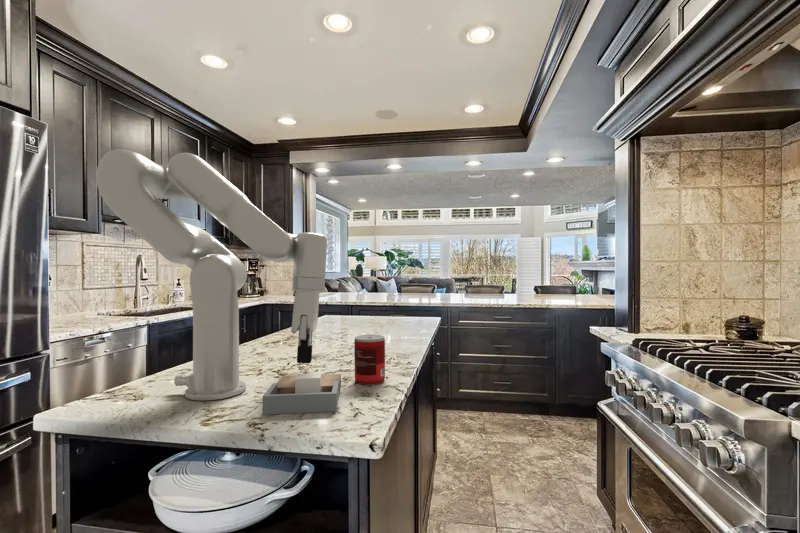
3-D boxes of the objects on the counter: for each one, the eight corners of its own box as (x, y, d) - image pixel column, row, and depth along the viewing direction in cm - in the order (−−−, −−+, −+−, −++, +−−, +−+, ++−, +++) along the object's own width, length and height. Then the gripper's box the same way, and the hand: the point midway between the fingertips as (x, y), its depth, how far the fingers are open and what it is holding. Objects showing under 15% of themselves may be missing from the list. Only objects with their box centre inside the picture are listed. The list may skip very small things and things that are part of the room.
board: (272, 399, 83) (272, 388, 83) (281, 386, 93) (281, 376, 93) (338, 397, 84) (338, 385, 85) (340, 384, 94) (340, 373, 94)
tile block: (298, 397, 83) (295, 403, 79) (298, 373, 83) (295, 378, 79) (321, 396, 83) (320, 402, 79) (321, 373, 84) (320, 377, 80)
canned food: (379, 375, 103) (378, 333, 103) (389, 383, 95) (389, 338, 95) (351, 378, 100) (350, 335, 100) (359, 386, 92) (359, 340, 92)
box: (262, 414, 74) (262, 396, 74) (272, 399, 83) (272, 383, 83) (336, 411, 76) (336, 393, 76) (338, 397, 84) (338, 380, 85)
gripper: (297, 283, 99) (293, 355, 99) (286, 284, 84) (281, 369, 84) (327, 285, 100) (323, 356, 100) (321, 286, 85) (316, 370, 85)
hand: (304, 362), depth 92 cm, fingers closed
